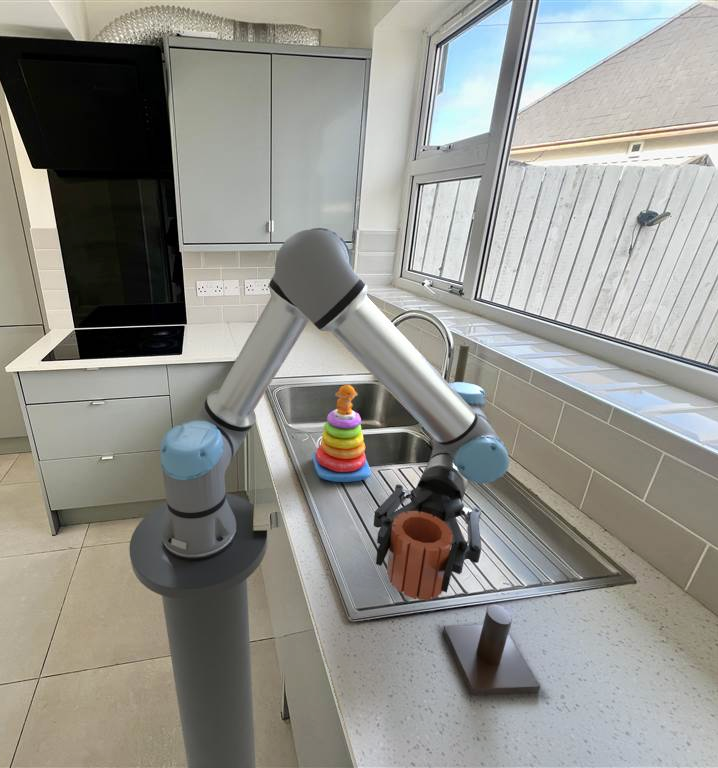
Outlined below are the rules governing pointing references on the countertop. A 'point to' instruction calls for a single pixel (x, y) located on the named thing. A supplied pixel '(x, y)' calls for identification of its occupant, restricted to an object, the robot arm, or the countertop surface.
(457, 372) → the candlestick holder
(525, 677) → the ring holder
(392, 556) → the ring
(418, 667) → the countertop surface
